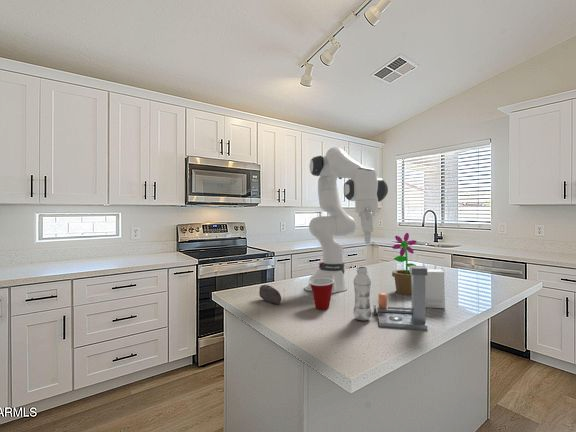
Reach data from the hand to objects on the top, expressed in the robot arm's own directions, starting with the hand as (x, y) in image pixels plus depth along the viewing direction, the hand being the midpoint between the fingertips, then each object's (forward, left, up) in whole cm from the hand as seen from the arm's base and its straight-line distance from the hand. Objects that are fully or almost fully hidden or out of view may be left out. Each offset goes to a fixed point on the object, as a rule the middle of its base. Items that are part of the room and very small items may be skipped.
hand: (367, 242), depth 121 cm
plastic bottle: (-2, -5, -29) cm, 30 cm away
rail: (+12, +3, -29) cm, 31 cm away
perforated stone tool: (-43, +10, -29) cm, 53 cm away
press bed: (+12, -6, -29) cm, 32 cm away
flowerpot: (+20, +39, -29) cm, 53 cm away
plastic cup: (-19, +6, -29) cm, 35 cm away
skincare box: (+28, +18, -29) cm, 44 cm away
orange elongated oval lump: (+6, +3, -28) cm, 28 cm away
